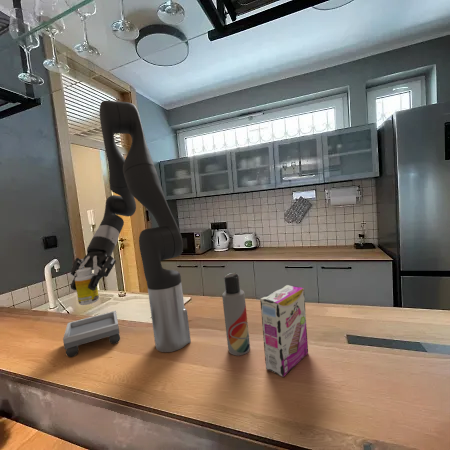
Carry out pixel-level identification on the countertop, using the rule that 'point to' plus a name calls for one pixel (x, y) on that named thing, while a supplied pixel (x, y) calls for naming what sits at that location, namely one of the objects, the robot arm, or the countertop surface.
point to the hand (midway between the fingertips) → (82, 289)
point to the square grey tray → (90, 331)
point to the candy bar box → (284, 329)
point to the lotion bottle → (235, 316)
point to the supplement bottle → (85, 287)
